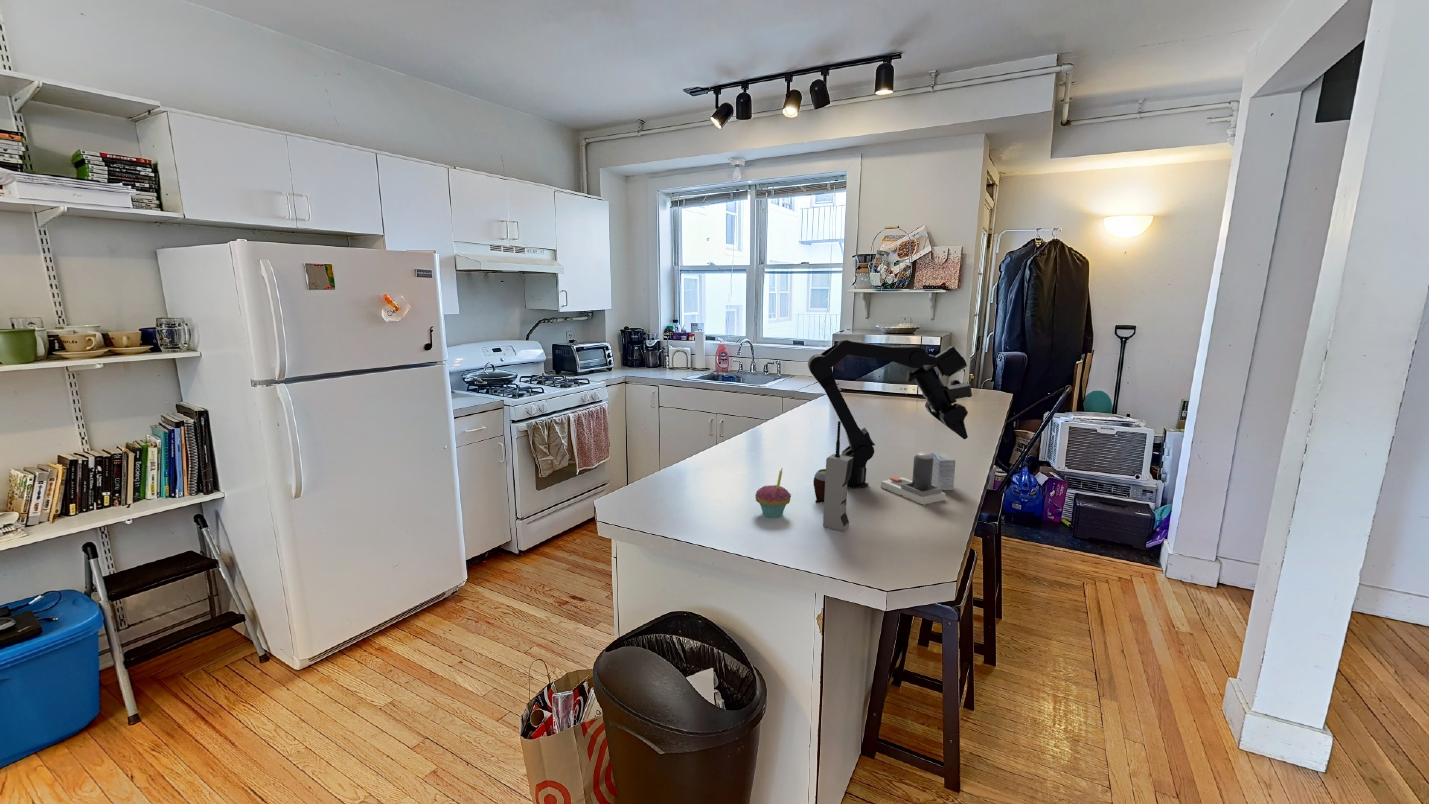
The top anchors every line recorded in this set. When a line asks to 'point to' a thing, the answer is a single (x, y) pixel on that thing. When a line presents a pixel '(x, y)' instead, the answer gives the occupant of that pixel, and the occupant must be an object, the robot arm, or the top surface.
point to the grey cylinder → (922, 471)
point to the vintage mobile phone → (836, 488)
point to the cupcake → (773, 499)
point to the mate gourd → (821, 483)
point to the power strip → (913, 491)
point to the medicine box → (943, 471)
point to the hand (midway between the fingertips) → (960, 434)
